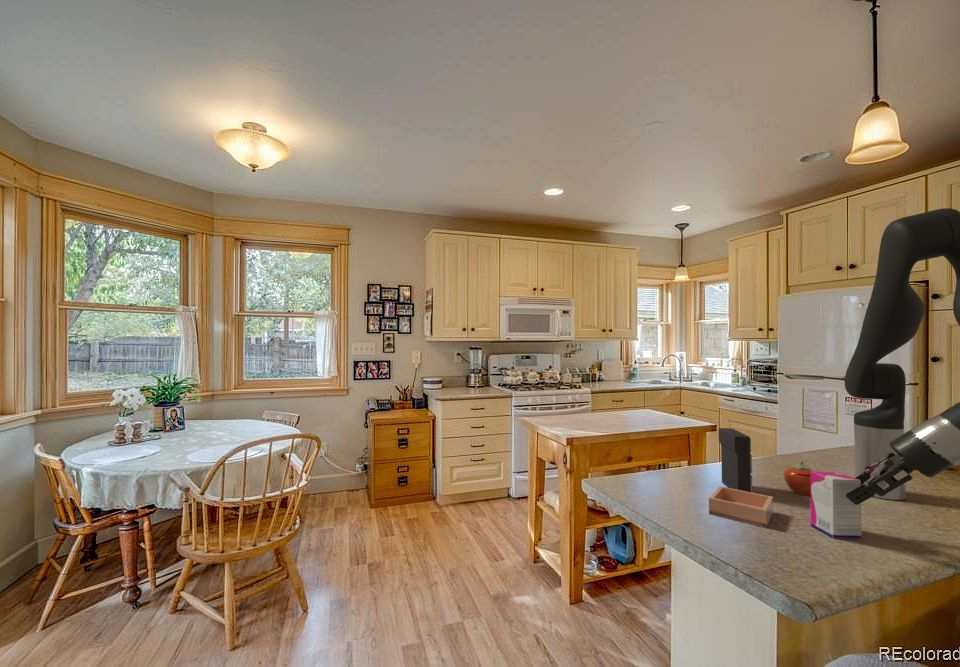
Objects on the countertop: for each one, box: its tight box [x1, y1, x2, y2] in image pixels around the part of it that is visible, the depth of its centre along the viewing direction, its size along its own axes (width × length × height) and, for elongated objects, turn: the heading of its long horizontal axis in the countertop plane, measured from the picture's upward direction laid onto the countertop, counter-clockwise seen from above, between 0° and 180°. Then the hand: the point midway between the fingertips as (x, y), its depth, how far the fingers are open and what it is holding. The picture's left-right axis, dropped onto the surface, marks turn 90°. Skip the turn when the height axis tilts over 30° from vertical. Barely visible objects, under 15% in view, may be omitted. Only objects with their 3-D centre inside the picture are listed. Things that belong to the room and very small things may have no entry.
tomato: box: [782, 460, 814, 496], centre depth 106 cm, size 7×7×8 cm
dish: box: [708, 485, 774, 529], centre depth 92 cm, size 11×11×4 cm
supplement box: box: [810, 470, 862, 539], centre depth 83 cm, size 6×6×12 cm
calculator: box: [718, 427, 754, 493], centre depth 108 cm, size 11×4×15 cm, turn 168°
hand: (850, 494), depth 82 cm, fingers open, 8 cm apart
